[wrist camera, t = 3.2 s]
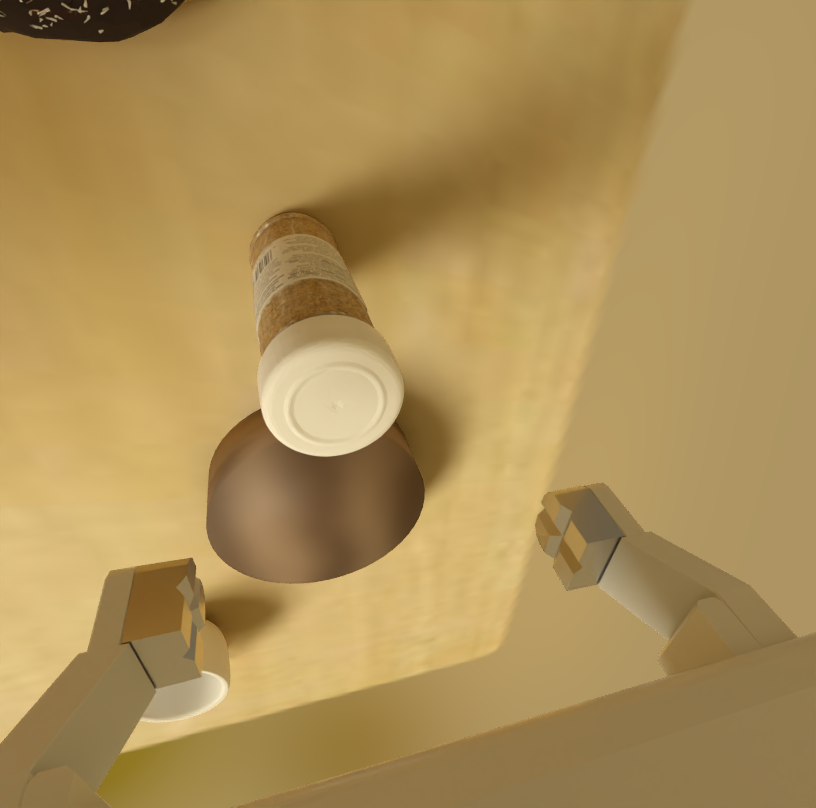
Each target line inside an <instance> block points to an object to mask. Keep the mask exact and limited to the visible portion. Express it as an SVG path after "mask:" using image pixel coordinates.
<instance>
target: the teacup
mask: <svg viewBox="0 0 816 808" xmlns="http://www.w3.org/2000/svg"><path fill="white" fill-rule="evenodd" d="M199 634H200V637H201V639H202V642H203V645H204V646H203V661H202V677H200V678H196V679H193V680H189V681H185V682H181V683H177V684H174V685H170V686H166V687H162V688H158V689H155V690H156V694H155V695H154V697H153V699H152V700H151V702H150V704H149V705H148V707H147V709H146V710H145V712H144V714H143V715H142V717H141V719H140V720H141V721H146V722H171V721H178V720H183V719H187V718H191V717H194V716H197V715H200V714H202V713H204V712H206V711H208V710H210V709H212V708H214V707H215V706H217V705H218V704H219V703H220V702H222V701H223V699H224V698H225V697H226V695H227V693H228V690H229V685H230V664H229V653H228V647H227V643H226V640H225V638H224V636H223V634H222V632H221V631H220V629H219V628H218V627H217V626H216V625H215V624H213V623H212V622H210V621H208V620H206V619H205V625H204V626H203V627H202V629H201V630H200V632H199Z"/></svg>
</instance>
